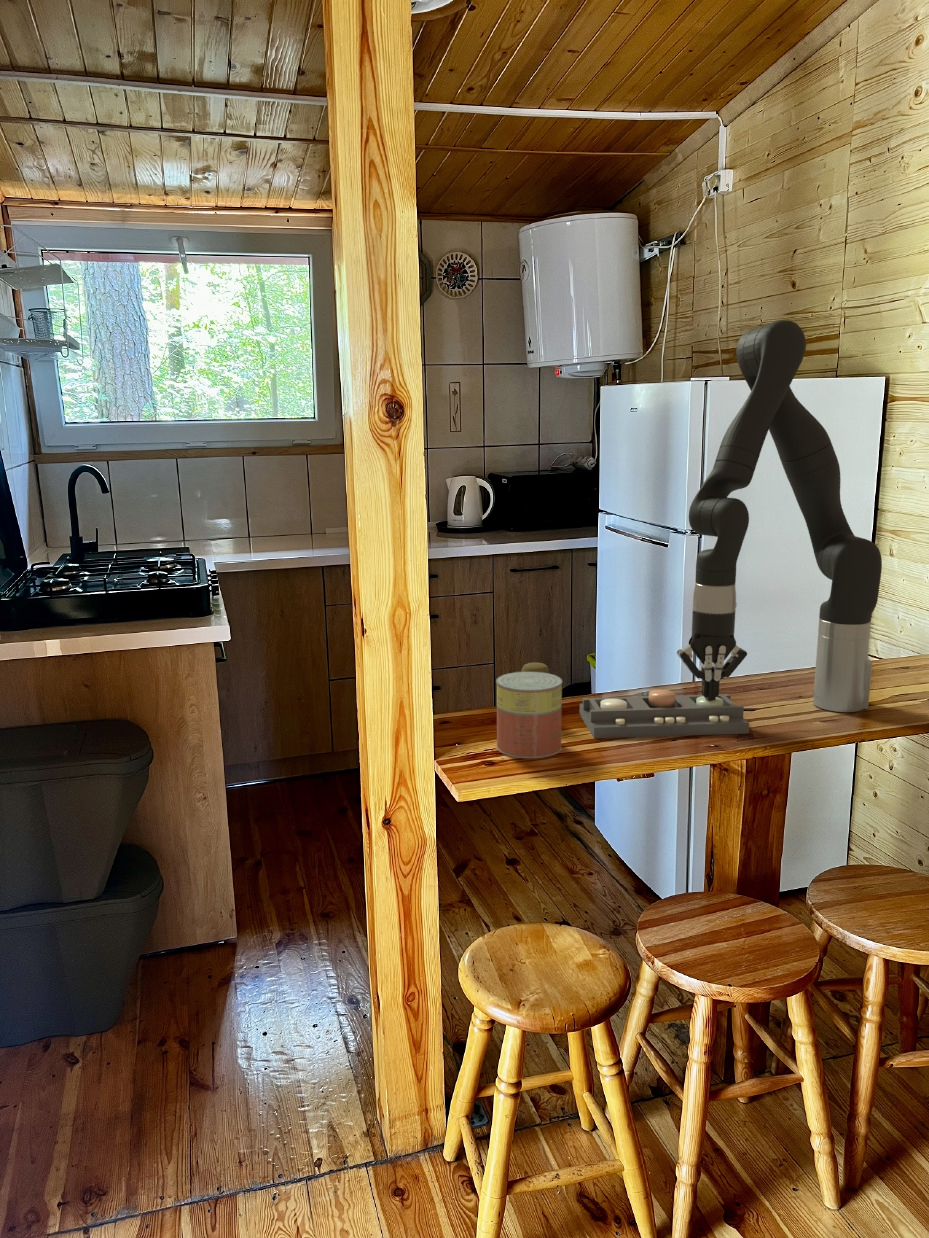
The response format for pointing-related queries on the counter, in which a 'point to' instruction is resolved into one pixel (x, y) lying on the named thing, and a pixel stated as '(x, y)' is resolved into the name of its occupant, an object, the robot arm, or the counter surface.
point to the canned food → (529, 714)
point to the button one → (613, 704)
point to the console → (663, 718)
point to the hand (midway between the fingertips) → (709, 699)
